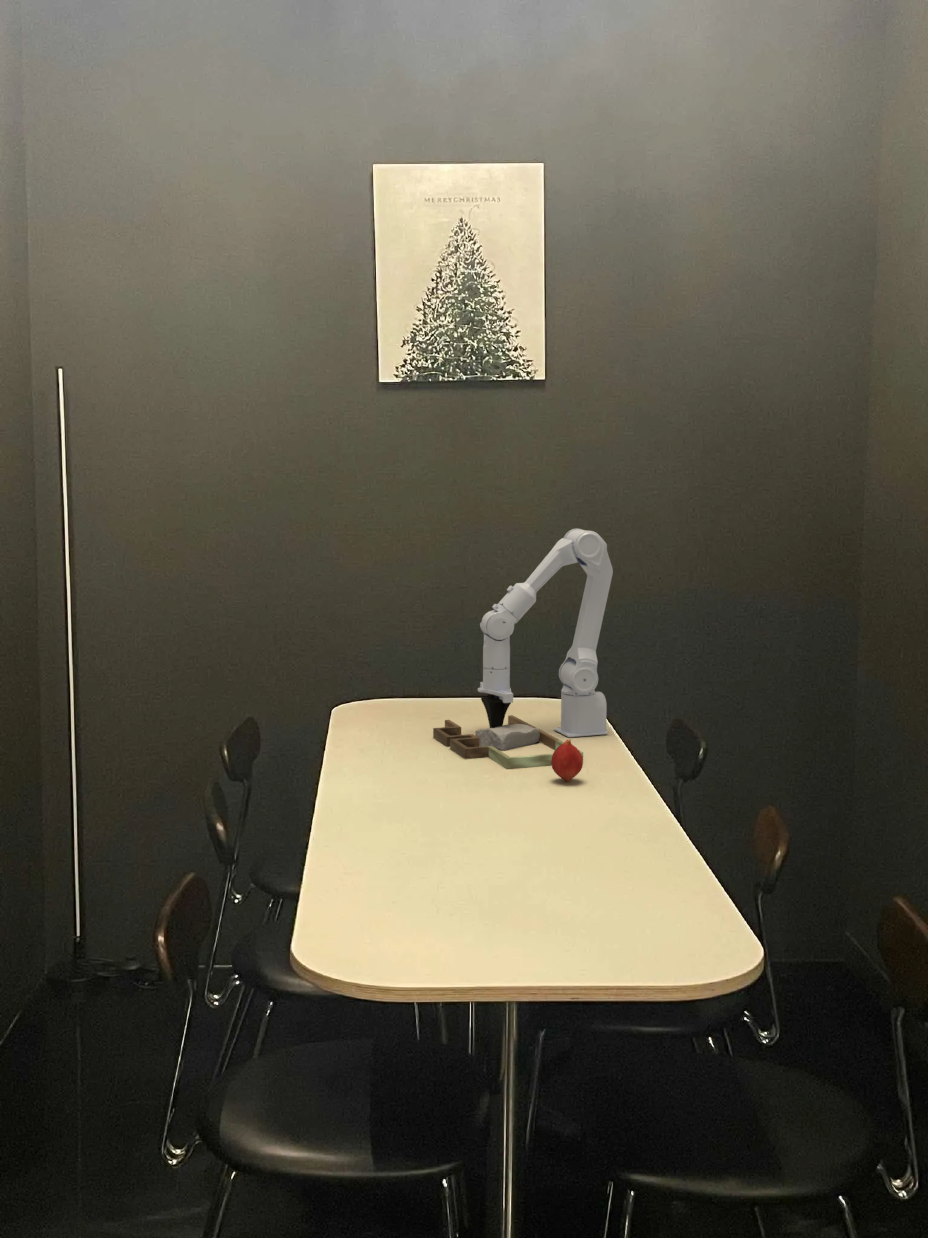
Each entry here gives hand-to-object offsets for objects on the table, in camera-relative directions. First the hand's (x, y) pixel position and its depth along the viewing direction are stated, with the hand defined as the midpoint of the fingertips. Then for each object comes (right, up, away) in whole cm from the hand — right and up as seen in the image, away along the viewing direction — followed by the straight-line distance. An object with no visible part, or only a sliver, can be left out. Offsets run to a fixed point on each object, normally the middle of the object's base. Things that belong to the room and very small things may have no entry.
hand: (495, 730), depth 258 cm
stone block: (+2, -3, -6) cm, 7 cm away
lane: (0, -2, -8) cm, 9 cm away
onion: (+12, -6, -36) cm, 39 cm away
